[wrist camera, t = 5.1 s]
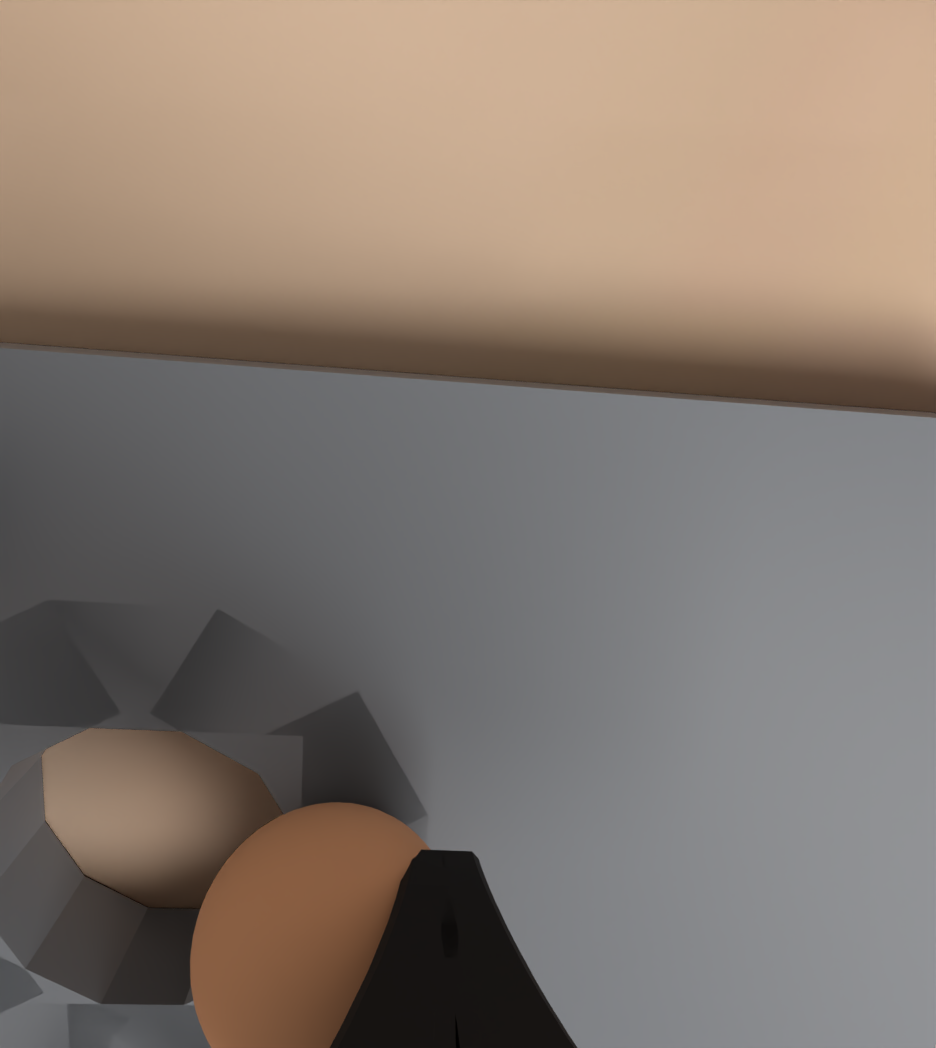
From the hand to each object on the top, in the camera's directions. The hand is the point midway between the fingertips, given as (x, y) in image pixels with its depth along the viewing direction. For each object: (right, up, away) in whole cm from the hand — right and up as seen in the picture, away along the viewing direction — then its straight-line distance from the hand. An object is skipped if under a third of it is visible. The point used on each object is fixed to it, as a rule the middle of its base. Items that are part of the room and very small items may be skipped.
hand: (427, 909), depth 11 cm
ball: (-1, 0, 0) cm, 1 cm away
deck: (0, 0, +4) cm, 4 cm away
